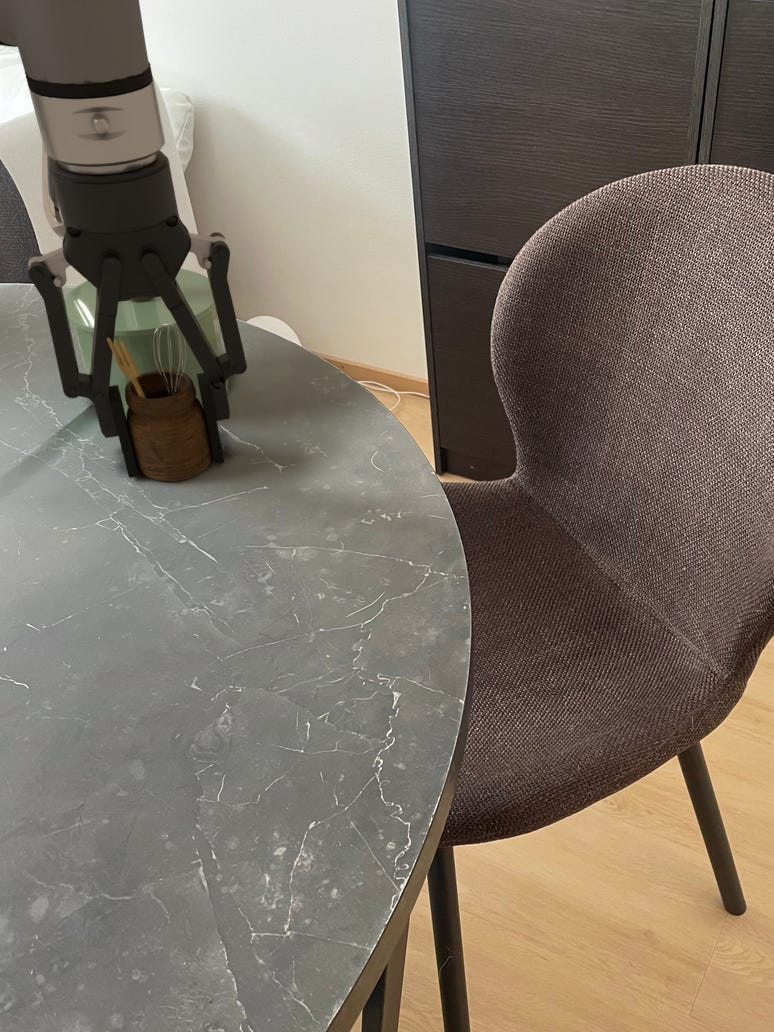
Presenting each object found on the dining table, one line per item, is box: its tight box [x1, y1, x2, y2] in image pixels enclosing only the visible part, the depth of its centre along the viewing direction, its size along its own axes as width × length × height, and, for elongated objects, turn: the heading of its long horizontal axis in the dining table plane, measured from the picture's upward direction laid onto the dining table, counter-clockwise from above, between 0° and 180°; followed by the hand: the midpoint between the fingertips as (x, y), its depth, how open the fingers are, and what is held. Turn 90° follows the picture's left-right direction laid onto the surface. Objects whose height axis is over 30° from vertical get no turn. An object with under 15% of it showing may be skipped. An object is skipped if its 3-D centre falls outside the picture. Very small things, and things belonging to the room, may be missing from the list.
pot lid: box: [64, 268, 215, 336], centre depth 84 cm, size 12×12×6 cm
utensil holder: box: [107, 324, 213, 482], centre depth 79 cm, size 6×6×12 cm
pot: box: [72, 308, 229, 419], centre depth 89 cm, size 11×11×8 cm
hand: (175, 460), depth 83 cm, fingers closed on utensil holder, 6 cm apart
